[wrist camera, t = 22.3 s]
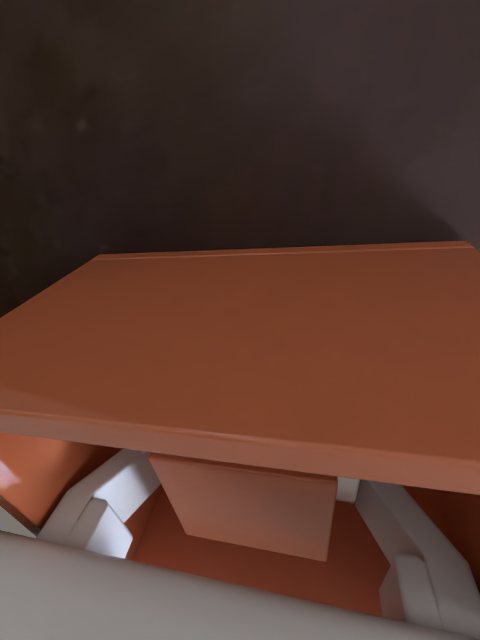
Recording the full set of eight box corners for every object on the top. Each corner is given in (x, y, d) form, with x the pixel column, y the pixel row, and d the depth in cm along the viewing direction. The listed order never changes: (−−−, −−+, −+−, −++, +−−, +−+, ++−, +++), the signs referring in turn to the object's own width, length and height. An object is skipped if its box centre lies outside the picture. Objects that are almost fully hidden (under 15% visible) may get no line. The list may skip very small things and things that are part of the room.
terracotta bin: (98, 253, 10) (-129, 398, 5) (467, 239, 8) (814, 503, 2) (174, 444, 16) (109, 599, 11) (391, 471, 14) (442, 687, 9)
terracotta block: (202, 343, 11) (146, 458, 7) (328, 349, 10) (338, 484, 6) (219, 421, 13) (185, 535, 10) (322, 431, 12) (327, 563, 9)
